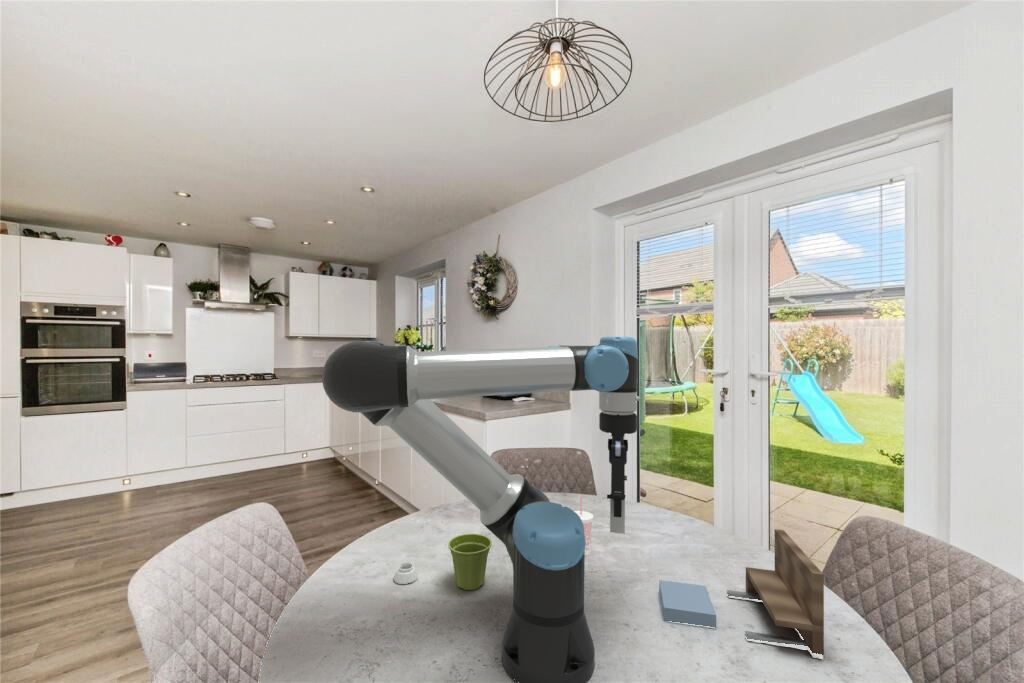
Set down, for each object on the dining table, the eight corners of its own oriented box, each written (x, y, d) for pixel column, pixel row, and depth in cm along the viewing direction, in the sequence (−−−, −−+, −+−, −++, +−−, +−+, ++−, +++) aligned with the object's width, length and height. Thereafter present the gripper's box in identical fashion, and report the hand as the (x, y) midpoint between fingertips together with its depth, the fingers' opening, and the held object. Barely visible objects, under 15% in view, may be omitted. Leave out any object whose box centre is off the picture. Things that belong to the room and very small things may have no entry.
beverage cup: (598, 554, 106) (598, 497, 107) (576, 559, 104) (576, 500, 104) (584, 544, 112) (585, 490, 112) (564, 547, 110) (564, 492, 110)
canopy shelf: (823, 660, 71) (823, 574, 71) (749, 648, 73) (750, 565, 74) (783, 598, 88) (783, 529, 88) (724, 590, 91) (724, 524, 91)
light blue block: (716, 631, 78) (716, 615, 78) (664, 623, 81) (664, 607, 81) (705, 600, 88) (705, 585, 88) (659, 594, 90) (659, 579, 90)
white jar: (389, 584, 93) (411, 587, 92) (389, 570, 93) (411, 573, 92) (400, 572, 97) (421, 575, 96) (400, 559, 97) (421, 561, 96)
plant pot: (450, 598, 87) (451, 555, 87) (445, 574, 96) (445, 535, 96) (495, 592, 90) (496, 550, 90) (486, 569, 99) (486, 531, 99)
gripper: (640, 422, 76) (639, 548, 76) (635, 405, 98) (634, 503, 98) (596, 419, 78) (595, 543, 78) (601, 404, 100) (600, 500, 100)
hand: (617, 521), depth 88 cm, fingers open, 10 cm apart
